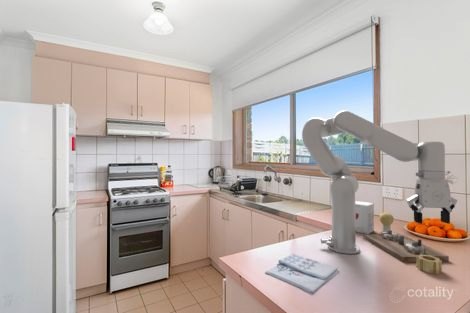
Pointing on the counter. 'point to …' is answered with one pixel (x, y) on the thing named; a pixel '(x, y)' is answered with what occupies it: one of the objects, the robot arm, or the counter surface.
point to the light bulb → (386, 221)
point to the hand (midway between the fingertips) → (431, 222)
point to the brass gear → (429, 264)
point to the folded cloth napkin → (313, 269)
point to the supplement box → (364, 217)
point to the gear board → (402, 246)
